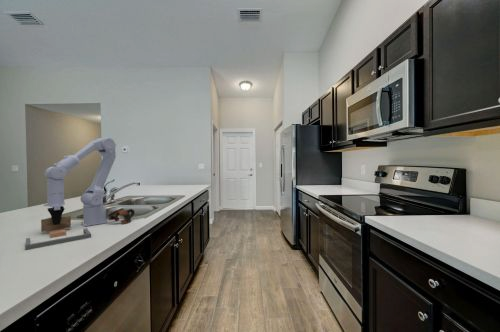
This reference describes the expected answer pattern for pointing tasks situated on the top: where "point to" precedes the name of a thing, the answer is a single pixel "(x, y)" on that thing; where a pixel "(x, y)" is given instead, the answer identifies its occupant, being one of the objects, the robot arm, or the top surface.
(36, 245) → the bay
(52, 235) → the tile
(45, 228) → the brown wooden board
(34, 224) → the top surface
